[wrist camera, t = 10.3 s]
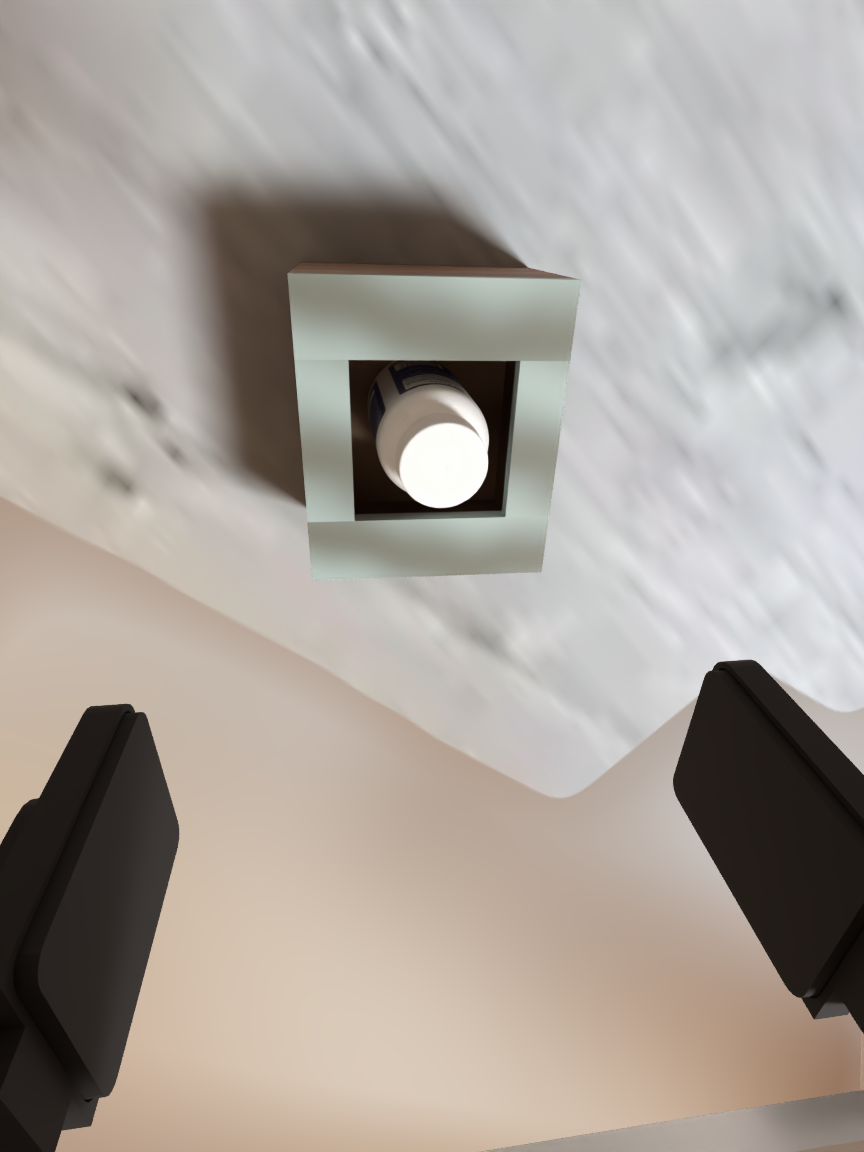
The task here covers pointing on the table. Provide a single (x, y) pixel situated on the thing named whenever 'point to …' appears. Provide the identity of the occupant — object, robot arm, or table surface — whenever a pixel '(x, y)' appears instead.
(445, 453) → the pill bottle
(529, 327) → the box
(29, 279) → the table surface
